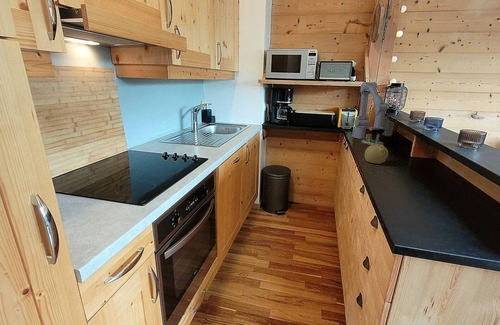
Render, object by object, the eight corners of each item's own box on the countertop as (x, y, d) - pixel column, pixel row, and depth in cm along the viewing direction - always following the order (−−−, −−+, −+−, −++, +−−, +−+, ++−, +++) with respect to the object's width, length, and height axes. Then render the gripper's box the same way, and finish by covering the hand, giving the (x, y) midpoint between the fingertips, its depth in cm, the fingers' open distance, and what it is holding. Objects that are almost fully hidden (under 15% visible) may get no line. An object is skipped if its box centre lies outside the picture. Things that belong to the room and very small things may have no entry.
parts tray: (361, 142, 197) (361, 140, 196) (370, 141, 200) (370, 139, 200) (374, 145, 186) (374, 143, 186) (383, 144, 190) (383, 142, 189)
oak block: (365, 142, 196) (366, 134, 195) (369, 141, 198) (370, 133, 196) (369, 143, 193) (370, 135, 191) (373, 142, 194) (374, 134, 193)
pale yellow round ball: (389, 166, 142) (392, 147, 139) (365, 164, 144) (368, 145, 141) (383, 160, 153) (386, 142, 149) (361, 158, 155) (364, 141, 151)
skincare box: (378, 134, 227) (381, 116, 223) (385, 134, 229) (388, 116, 225) (386, 136, 220) (389, 117, 215) (392, 136, 222) (396, 117, 217)
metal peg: (372, 141, 191) (373, 133, 189) (375, 140, 192) (377, 132, 190) (376, 142, 188) (377, 134, 186) (379, 141, 189) (381, 133, 187)
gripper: (376, 122, 179) (373, 141, 183) (391, 121, 185) (387, 139, 189) (368, 120, 185) (365, 139, 189) (382, 119, 191) (379, 137, 195)
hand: (376, 139), depth 189 cm, fingers closed on metal peg, 4 cm apart
